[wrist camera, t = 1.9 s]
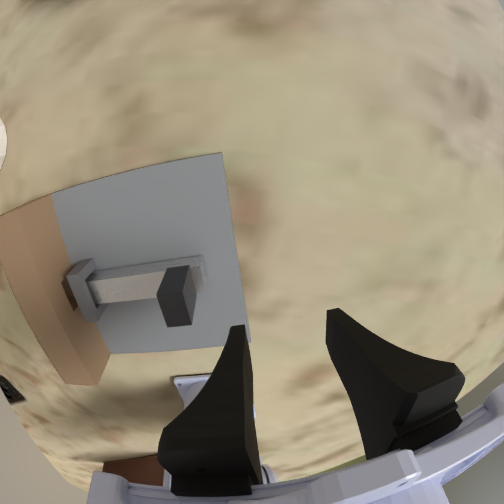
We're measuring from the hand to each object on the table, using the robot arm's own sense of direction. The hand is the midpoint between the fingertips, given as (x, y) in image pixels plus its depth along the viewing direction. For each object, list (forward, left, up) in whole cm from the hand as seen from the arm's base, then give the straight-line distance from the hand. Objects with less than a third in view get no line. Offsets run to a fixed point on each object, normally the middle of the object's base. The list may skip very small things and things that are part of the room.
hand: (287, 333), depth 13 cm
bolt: (0, +10, -9) cm, 13 cm away
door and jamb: (0, +11, -10) cm, 15 cm away
